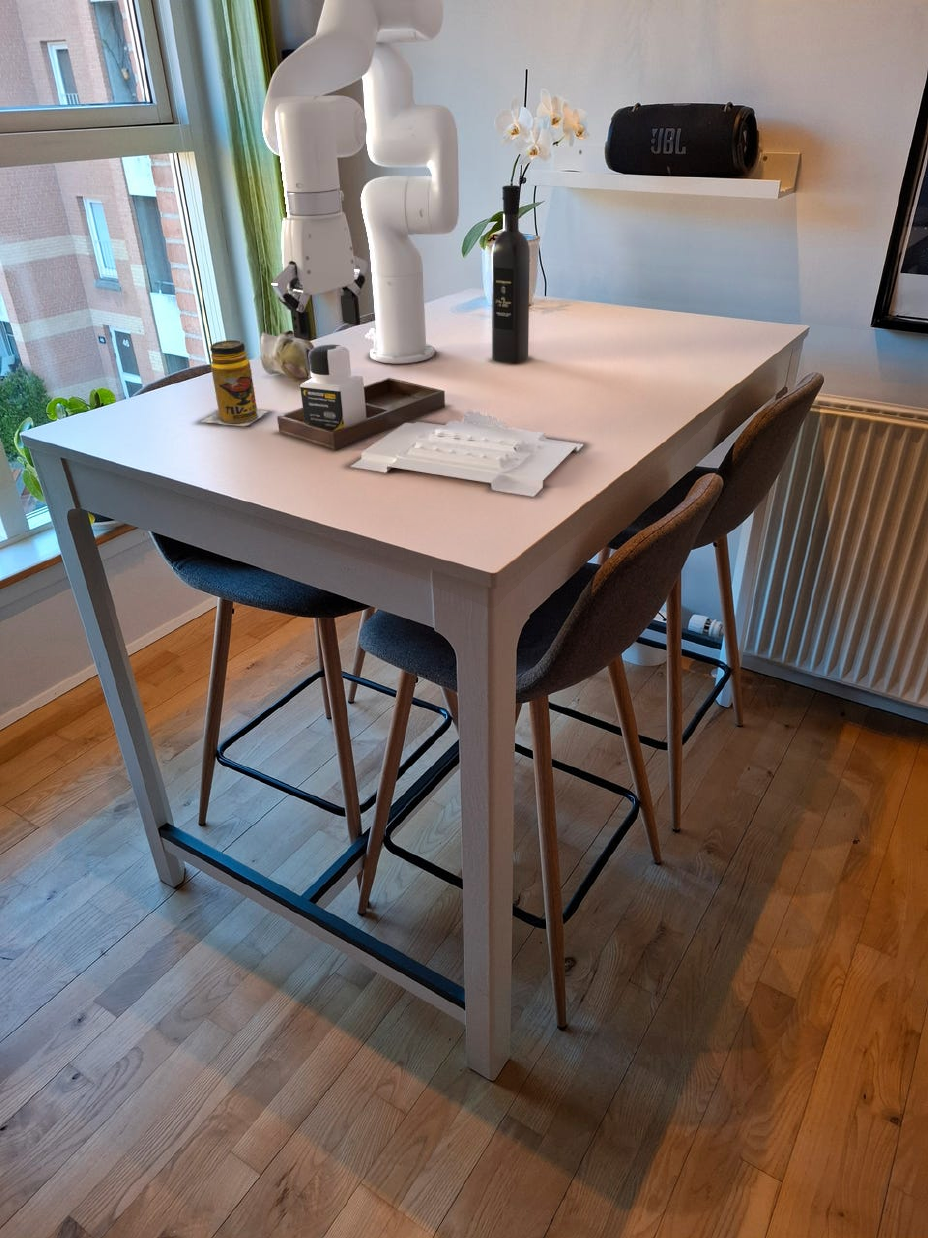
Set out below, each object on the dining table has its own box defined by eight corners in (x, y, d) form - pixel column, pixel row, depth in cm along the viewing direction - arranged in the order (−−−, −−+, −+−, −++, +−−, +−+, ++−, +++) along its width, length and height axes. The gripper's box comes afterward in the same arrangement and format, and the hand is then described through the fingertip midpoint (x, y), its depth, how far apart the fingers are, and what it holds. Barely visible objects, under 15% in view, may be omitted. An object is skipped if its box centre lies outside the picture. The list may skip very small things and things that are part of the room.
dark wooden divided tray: (279, 432, 138) (276, 416, 136) (390, 392, 154) (389, 377, 152) (335, 450, 131) (333, 432, 129) (445, 406, 147) (444, 390, 145)
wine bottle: (516, 364, 166) (518, 188, 151) (490, 361, 169) (488, 187, 153) (530, 357, 170) (532, 184, 155) (504, 353, 173) (504, 183, 157)
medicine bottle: (304, 429, 137) (294, 351, 130) (328, 415, 142) (320, 339, 136) (344, 435, 134) (336, 355, 128) (367, 420, 140) (360, 343, 133)
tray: (534, 496, 115) (534, 469, 113) (350, 474, 126) (346, 449, 124) (584, 444, 130) (584, 419, 128) (416, 427, 141) (414, 405, 139)
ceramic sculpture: (281, 317, 165) (343, 331, 159) (286, 363, 170) (345, 378, 164) (239, 330, 158) (302, 345, 151) (245, 377, 163) (306, 395, 156)
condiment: (246, 427, 140) (234, 350, 134) (200, 422, 143) (186, 347, 136) (268, 412, 146) (258, 338, 140) (223, 408, 149) (211, 335, 142)
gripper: (341, 194, 129) (352, 315, 138) (246, 210, 118) (265, 340, 127) (377, 198, 125) (387, 322, 134) (283, 214, 114) (300, 348, 123)
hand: (327, 330), depth 131 cm, fingers open, 9 cm apart
